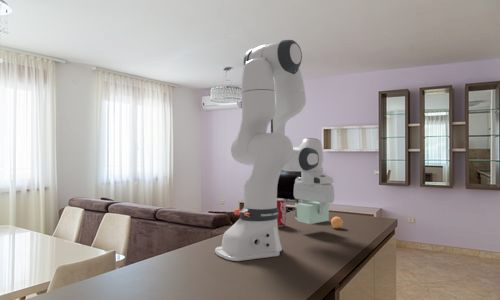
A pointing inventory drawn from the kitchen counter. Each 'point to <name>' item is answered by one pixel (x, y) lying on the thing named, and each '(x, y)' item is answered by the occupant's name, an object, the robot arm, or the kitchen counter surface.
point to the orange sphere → (336, 222)
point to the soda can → (281, 212)
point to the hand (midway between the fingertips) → (312, 211)
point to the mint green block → (311, 213)
